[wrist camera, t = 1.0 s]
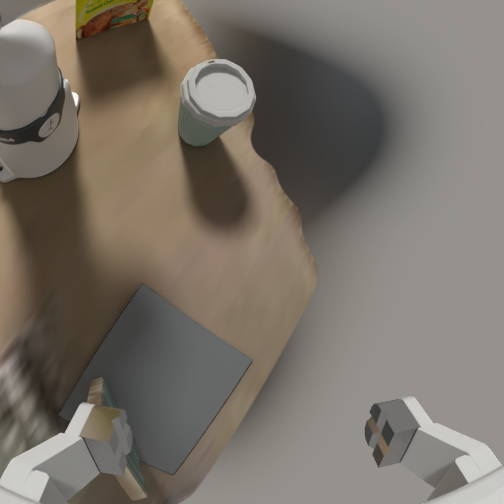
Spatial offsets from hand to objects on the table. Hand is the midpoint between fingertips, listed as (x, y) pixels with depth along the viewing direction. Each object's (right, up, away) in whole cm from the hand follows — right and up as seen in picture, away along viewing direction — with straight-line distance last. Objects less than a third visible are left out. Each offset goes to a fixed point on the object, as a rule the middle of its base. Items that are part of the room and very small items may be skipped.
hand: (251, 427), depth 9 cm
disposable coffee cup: (-10, +26, +42) cm, 50 cm away
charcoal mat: (-15, -16, +36) cm, 42 cm away
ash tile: (-22, -19, +32) cm, 43 cm away
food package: (-27, +49, +36) cm, 66 cm away
